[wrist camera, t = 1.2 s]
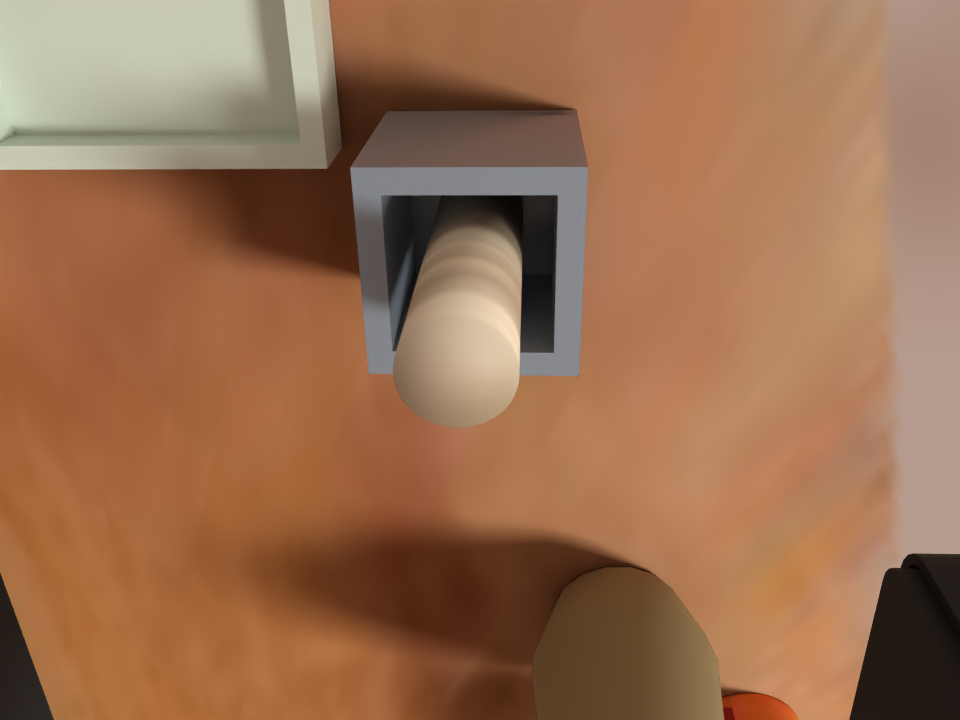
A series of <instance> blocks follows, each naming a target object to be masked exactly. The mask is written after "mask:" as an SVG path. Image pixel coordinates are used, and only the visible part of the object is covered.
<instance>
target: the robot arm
mask: <svg viewBox="0 0 960 720" xmlns="http://www.w3.org/2000/svg"><path fill="white" fill-rule="evenodd" d="M0 720H54V719H53V716H52V713H51V711H50V708H49V705H48V702H47V700H46V697H45V694H44V692H43V689H42V686H41V683H40V681H39V678H38V675H37V672H36V670H35V667H34V664H33V661H32V659H31V656H30V653H29V651H28V648H27V645H26V642H25V640H24V637H23V634H22V631H21V629H20V626H19V623H18V620H17V618H16V615H15V612H14V609H13V607H12V604H11V601H10V599H9V596H8V593H7V590H6V588H5V585H4V582H3V579H2V577H1V574H0ZM849 720H960V554H909V555H908V556H907V557H906V558H905V559H904V560H903V563H902V565H901V568H890V569H888V570H887V571H886V573H885V575H884V578H883V582H882V586H881V590H880V594H879V599H878V603H877V607H876V611H875V615H874V619H873V624H872V628H871V632H870V636H869V640H868V644H867V649H866V653H865V657H864V661H863V665H862V669H861V674H860V678H859V682H858V686H857V690H856V694H855V699H854V703H853V707H852V711H851V715H850V719H849Z"/></svg>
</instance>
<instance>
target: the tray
mask: <svg viewBox="0 0 960 720" xmlns="http://www.w3.org/2000/svg"><path fill="white" fill-rule="evenodd" d="M341 149H342V139H341V128H340V117H339V107H338V96H337V85H336V75H335V64H334V53H333V43H332V32H331V21H330V11H329V0H0V170H35V169H328V167H329V166H330V164H331V163H332V162H333V160H334V159H335V158H336V156H337V155H338V154H339V152H340V151H341Z"/></svg>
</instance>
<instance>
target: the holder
mask: <svg viewBox="0 0 960 720" xmlns="http://www.w3.org/2000/svg"><path fill="white" fill-rule="evenodd" d="M350 170H351V182H352V193H353V204H354V215H355V226H356V237H357V248H358V259H359V270H360V281H361V292H362V303H363V314H364V325H365V336H366V347H367V359H368V370H369V374H393V362H394V357H395V354H396V350H397V347H398V344H399V340H400V337H401V333H402V330H403V327H404V323H405V320H406V316H407V313H408V309H409V306H410V303H411V299H412V296H413V292H414V289H415V285H416V282H417V279H418V275H419V272H420V268H421V265H422V262H423V258H424V255H425V251H426V248H427V244H428V241H429V238H430V234H431V231H432V227H433V224H434V220H435V217H436V214H437V210H438V207H439V203H440V200H441V197H442V195H521V197H522V200H523V208H524V212H523V251H522V290H521V329H520V368H519V375H546V376H579V367H580V344H581V320H582V297H583V273H584V249H585V226H586V202H587V179H588V164H587V160H586V155H585V150H584V145H583V140H582V135H581V130H580V125H579V120H578V115H577V110H471V111H387V112H386V113H385V115H384V116H383V118H382V119H381V121H380V123H379V124H378V126H377V127H376V129H375V130H374V132H373V133H372V135H371V136H370V138H369V139H368V141H367V143H366V144H365V146H364V147H363V149H362V150H361V152H360V153H359V155H358V156H357V158H356V159H355V161H354V163H353V164H352V166H351V167H350Z"/></svg>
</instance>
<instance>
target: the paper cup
mask: <svg viewBox="0 0 960 720" xmlns="http://www.w3.org/2000/svg"><path fill="white" fill-rule="evenodd" d="M722 704H723V714H724V720H798V718H797V716H796V714H795V713H794V711H793V710H792V709H791V708H790V707H789V706H788V705H787V704H785V703H784V702H782V701H780V700H778V699H776V698H774V697H771V696H767V695H763V694H756V693H741V694H734V695H729V696H725V697H722Z"/></svg>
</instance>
